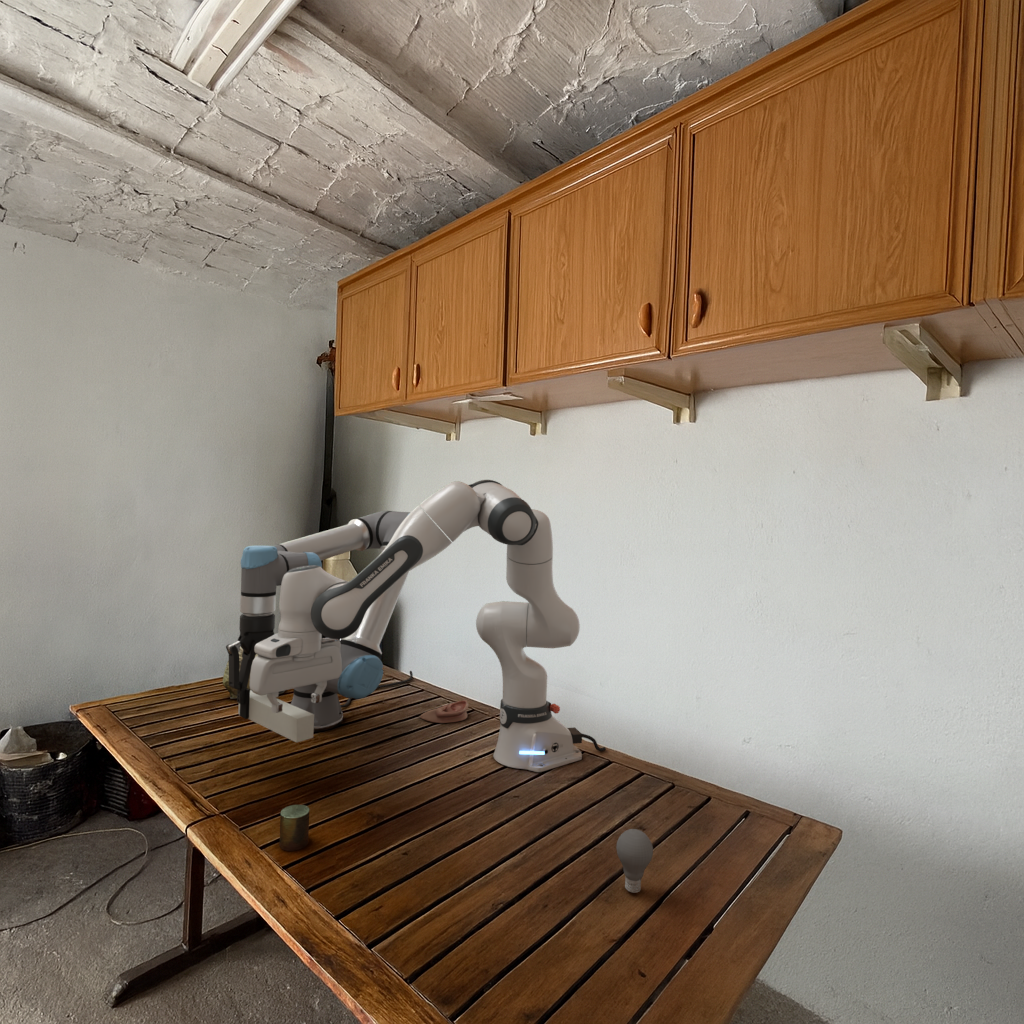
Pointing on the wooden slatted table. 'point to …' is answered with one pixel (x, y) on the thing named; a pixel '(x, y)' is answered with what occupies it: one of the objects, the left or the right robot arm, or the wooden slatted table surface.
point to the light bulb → (634, 857)
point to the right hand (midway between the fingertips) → (297, 707)
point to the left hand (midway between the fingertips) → (254, 714)
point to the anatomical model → (447, 713)
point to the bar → (281, 718)
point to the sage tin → (294, 827)
